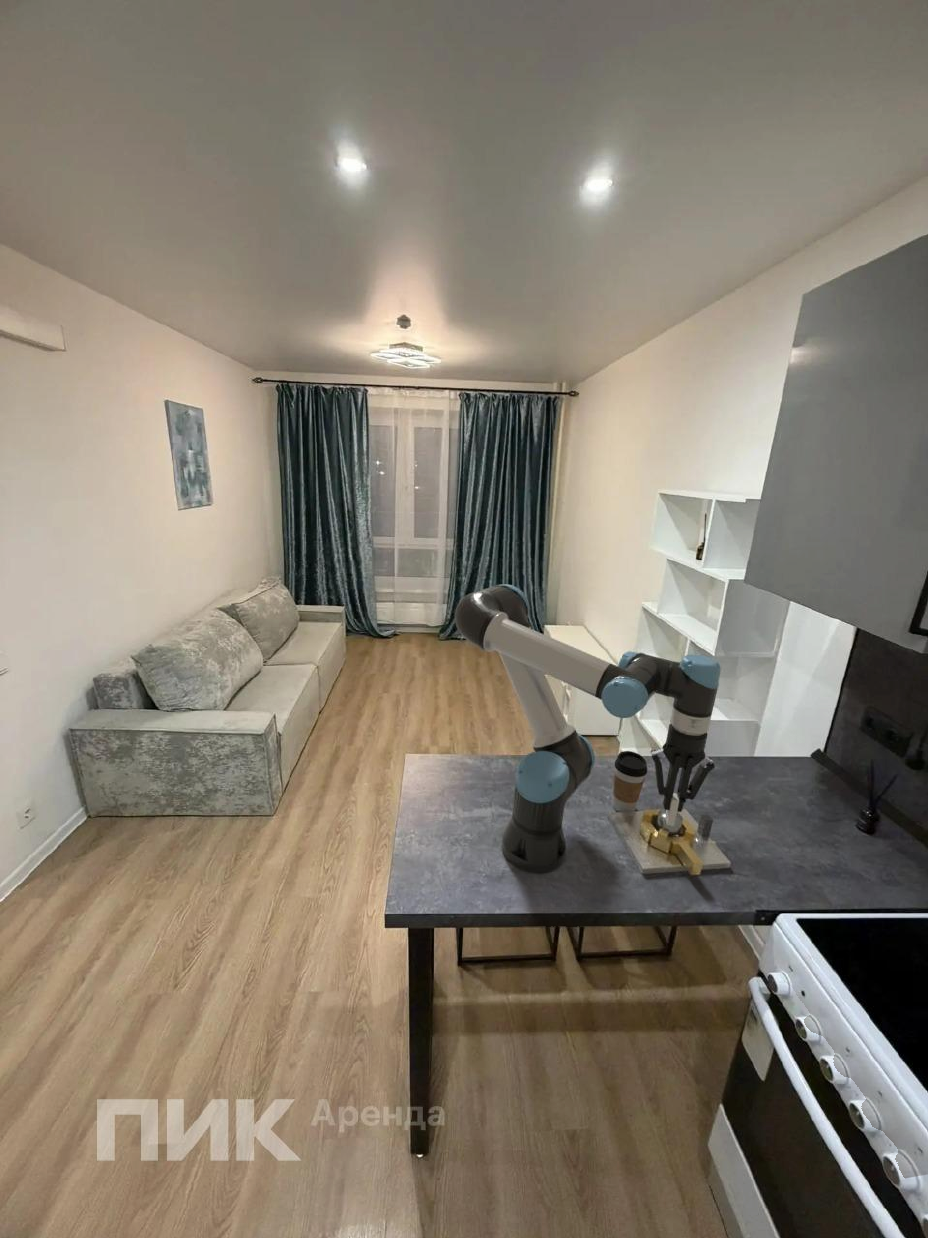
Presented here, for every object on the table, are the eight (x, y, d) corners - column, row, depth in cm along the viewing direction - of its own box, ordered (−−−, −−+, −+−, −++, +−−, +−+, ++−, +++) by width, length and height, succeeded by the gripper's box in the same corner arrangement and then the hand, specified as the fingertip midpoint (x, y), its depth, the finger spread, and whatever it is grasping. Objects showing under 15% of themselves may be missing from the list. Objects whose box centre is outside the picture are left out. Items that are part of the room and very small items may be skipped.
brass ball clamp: (632, 820, 129) (635, 806, 127) (675, 818, 130) (678, 804, 129) (670, 877, 111) (674, 861, 110) (719, 873, 113) (723, 858, 112)
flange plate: (645, 880, 112) (651, 852, 110) (607, 817, 132) (611, 793, 129) (735, 873, 116) (743, 847, 113) (685, 813, 135) (691, 790, 133)
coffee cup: (635, 798, 140) (644, 752, 136) (643, 819, 132) (652, 770, 128) (605, 795, 141) (613, 748, 136) (610, 815, 133) (619, 766, 128)
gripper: (658, 731, 103) (641, 827, 110) (726, 741, 100) (704, 838, 107) (653, 715, 110) (637, 805, 117) (716, 723, 107) (696, 815, 114)
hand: (669, 821), depth 112 cm, fingers closed
